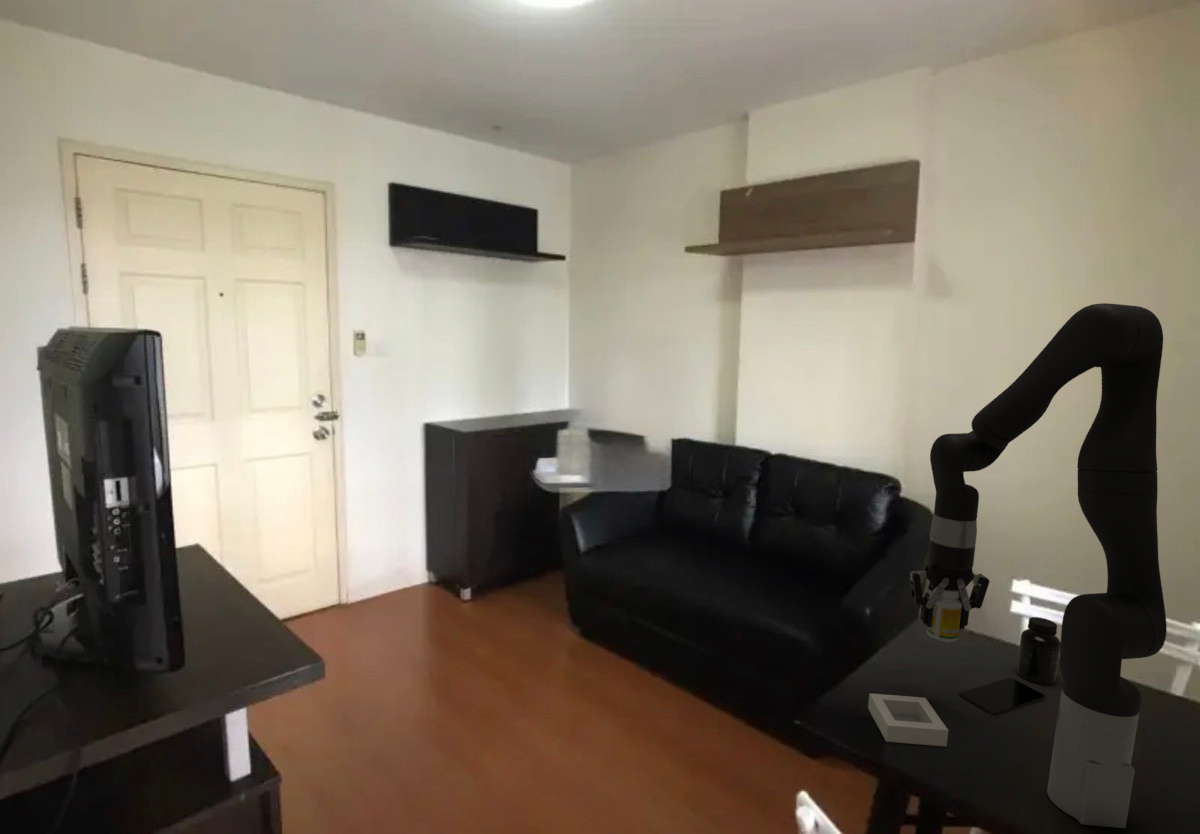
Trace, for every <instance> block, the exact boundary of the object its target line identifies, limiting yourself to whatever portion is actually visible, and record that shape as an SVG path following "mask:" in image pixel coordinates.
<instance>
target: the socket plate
mask: <svg viewBox="0 0 1200 834" xmlns="http://www.w3.org/2000/svg"><path fill="white" fill-rule="evenodd" d="M868 695H869V696H868V703H867V704H868V705H867V709H868V711H869V713H870V714H871V715H870V716H871V717H872V718H873V721H874V722H875V724H876V726H877V727H878V729H879V731H880V733H881V735H882V737H883V738H884V740H885V742H886V743H897V744H900V743H901V744H912V745H923V746H924V745H925V746H934V747H935V746H936V747H946V748H947V747H948V746H947V744H948V738H949V729H948V728H947V726H946V725H945V723H944V722H943V721H942V719H941V718H940V716H939V715H938V714H937V712H936V711H935V709H934V708H933V707H932V705H931V704H930V702H929V701H928V699H927V698H926V697H924V696H923V697H921V696H920V697H919V696H910V695H909V696H907V695H895V694H892V695H891V694H882V693H869V694H868Z"/></svg>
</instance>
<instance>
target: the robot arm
mask: <svg viewBox="0 0 1200 834" xmlns="http://www.w3.org/2000/svg"><path fill="white" fill-rule="evenodd" d="M1163 348H1164V332H1163V326H1162V324H1161V322H1160V319H1159V318H1158V317H1157V315H1156V314H1155V313H1154V312H1152V310H1150V309H1148V308H1145V307H1142V306H1138V305H1132V304H1131V305H1130V304H1129V305H1128V304H1119V303H1107V302H1106V303H1105V302H1102V303H1094V304H1091V305H1087V306H1084V307H1082V308H1081V309H1079V310H1077V311H1076V312H1075V314H1073V315H1071V317H1070V318H1069V319H1067V321H1066V322H1065V323H1064V324H1063V325H1062V326H1061V328H1060V329H1058V331H1057V332H1056V333H1055V334H1054V336H1053V337H1052V339H1050V341H1049V342H1048V343H1047V344H1046V345H1045V347H1044V348H1043V349H1042V350H1041V351H1040V352H1039V353H1038V355H1037V356H1036V357H1035V358H1034V359H1033V360H1032V361H1031V363H1030V364H1029V365H1028V366H1027V367H1026V369H1025V370H1024V371H1023V372H1022V373H1021V374H1020V375H1019V376H1018V377H1017V378H1016V379H1015V380H1013V382H1012V383H1011V384H1010V385H1009V386H1008V387H1007V388H1005V389H1004V390H1003V391H1002V392H1001V393H999V394H998V395H997V396H996V397H995V398H994V399H992V400H991V401H990V402H988V404H986V405H985V406H984V407H982V408H981V410H979V411H978V412H977V413H976V414H975V416H973V418H972V420H971V431H969V432H966V433H965V432H961V433H945V434H942V435H940V436H938V437H937V438H935V440H934V441H933V443H932V445H931V449H930V454H929V461H930V462H929V463H930V467H931V472H932V477H933V478H932V479H933V483H934V484H933V485H934V487H935V488H934V489H935V498H934V499H935V500H934V510H933V517H932V521H931V525H930V531H929V543H928V551H927V553H928V554H927V565H926V567H925V568H924V570H917V571H915V570H914V569H910V570H908V580H909V588H910V597H911V599H912V600H913V601H914V603H916V604H917V605H919V606H921V607H920V614H919V615H920V616H919V619H920V621H921V622H922V623H923V625H924V626H925V627H926V628H927V627H931V622H932V613H933V609H932V606H933V604H934V603H935V601H936V599H939V597H940V595H941V594H942V592H943V590H957V591H959V597H958V598H957V599H959V600H960V601H961V603H962V610H961V618H960V627H959V630H965V627H967V626H968V625H969V616H970V611H971V610H972V609H975V608H976V609H981V608H982V606H983V603H984V601H985V597H986V594H987V591H988V588H989V584H990V581H991V580H989V578H988V577H987V576H985V575H983V574H982V573H978V574H977V573H976V574H975V573H974V571H973V568H974V563H975V554H976V552H975V551H976V543H977V537H978V536H977V534H978V524H977V523H978V522H977V521H978V512H979V503H980V502H979V501H980V494H979V491H978V489H977V488H975V487H974V486H973V485H970V484H966V481H965V476H964V473H966V472H968V473H969V472H970V473H971V472H977V471H979V472H980V471H981V470H984V469H987V468H988V467H990V466H991V465H992V464H993V463H995V462H996V460H998V458H999V457H1000V456H1001V454H1002V453H1003V452H1004V451H1005V450H1006V448H1007V446H1008V445H1009V443H1011V442H1013V441H1014V440H1015V439H1017V438H1018V437H1019V436H1021V434H1023V433H1024V432H1025V431H1027V430H1029V429H1030V428H1031V427H1032V426H1034V425H1035V424H1036V423H1037V422H1038V421H1039V420H1040V419H1041V418H1042V417H1043V415H1044V414H1045V413H1046V412H1047V410H1048V408H1049V406H1050V404H1051V402H1052V400H1053V399H1054V397H1055V396H1056V395H1057V393H1058V392H1059V391H1060V390H1061V389H1062V388H1063V387H1064V386H1065V385H1066V384H1068V383H1069V382H1071V381H1072V380H1074V379H1076V378H1077V377H1079V376H1080V375H1083V374H1084V373H1086V372H1087V371H1090V370H1092V369H1094V368H1100V373H1101V396H1100V404H1099V408H1098V411H1097V412H1096V413H1097V414H1096V416H1095V418H1094V420H1093V422H1092V424H1091V426H1090V428H1089V430H1088V431H1087V434H1086V435H1085V437H1084V440H1083V442H1082V445H1081V447H1080V449H1079V453H1078V457H1077V467H1076V468H1077V499H1078V503H1079V506H1080V508H1081V509H1080V510H1081V512H1082V514H1083V515H1084V517H1085V519H1086V521H1087V523H1088V524H1089V526H1090V527H1091V530H1092V532H1093V533H1094V534H1095V536H1096V538H1097V539H1098V541H1099V543H1100V545H1101V546H1102V550H1103V552H1104V557H1105V560H1106V568H1107V570H1106V571H1107V586H1106V592H1100V593H1098V592H1097V593H1084V594H1079V595H1076V596H1074V597H1073V598H1071V599H1070V601H1068V603H1067V604H1066V606H1065V609H1064V613H1063V616H1062V621H1061V631H1060V633H1061V634H1060V643H1061V644H1060V654H1059V661H1058V666H1059V670H1060V674H1061V678H1062V685H1061V686H1062V687H1061V691H1060V692H1061V693H1060V699H1059V706H1058V712H1057V713H1058V714H1057V719H1056V724H1055V725H1056V727H1055V731H1054V732H1055V733H1054V740H1053V741H1054V742H1053V746H1052V752H1051V753H1052V754H1051V755H1052V756H1051V759H1050V768H1049V769H1050V770H1049V776H1048V783H1047V788H1046V789H1047V790H1046V792H1047V796H1048V798H1049V799H1050V800H1051V802H1052V803H1053V804H1054V805H1055V806H1056V807H1057V808H1058V809H1060V811H1063V812H1064V813H1065V814H1067V815H1069V816H1071V817H1073V818H1074V819H1075V820H1077V822H1078V823H1079V824H1080V825H1084V826H1093V827H1094V826H1096V827H1106V828H1107V827H1108V828H1114V829H1115V828H1116V829H1119V828H1120V829H1126V827H1127V826H1126V825H1127V821H1128V815H1129V809H1130V803H1131V802H1130V801H1131V796H1132V791H1133V786H1134V785H1133V784H1134V777H1135V772H1136V771H1135V768H1134V766H1132V758H1133V752H1134V748H1135V747H1134V746H1135V740H1136V735H1137V729H1138V724H1139V716H1140V710H1141V704H1142V694H1141V691H1140V690H1139V689H1138V687H1137V686H1136V685H1135V684H1134V683H1132V682H1131V681H1130V680H1128V679H1126V678H1124V677H1122V676H1121V675H1122V674H1121V672H1122V662H1123V661H1122V660H1129V659H1130V660H1133V659H1142V658H1143V659H1144V658H1148V657H1152V656H1155V655H1156V654H1158V652H1160V651H1161V650H1162V648H1163V646H1164V645H1165V642H1166V639H1167V629H1168V626H1167V616H1166V615H1167V614H1166V609H1165V601H1164V593H1163V587H1162V579H1161V578H1162V577H1161V572H1160V571H1161V570H1160V563H1159V561H1160V560H1159V539H1158V538H1159V536H1158V534H1159V533H1158V491H1159V490H1158V489H1159V488H1158V487H1159V486H1158V484H1159V483H1158V460H1157V458H1158V457H1157V432H1158V431H1157V425H1158V423H1157V421H1158V419H1157V400H1158V389H1159V381H1160V374H1161V367H1162V359H1163V358H1162V357H1163ZM924 579H927V580H928V584H927V585H926V586H925V589H924V590H925V591H924V593H923V591H922V584H923V583H924ZM971 582H972V584H973V586H972V589H971V592H970V595H969V593H968V591H967V587H968V586H969V584H970V583H971Z"/></svg>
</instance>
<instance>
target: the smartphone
mask: <svg viewBox="0 0 1200 834" xmlns="http://www.w3.org/2000/svg"><path fill="white" fill-rule="evenodd" d="M958 697H960V698H961V699H962V700H965V701H966V702H968V703H969V704H971V705H974V706H976V708H979V710H982V711H983V712H985V713H986V714H989V715H992V716H999V715H1003V714H1006V713H1009V712H1013V711H1016V710H1019V709H1022V708H1025V707H1027V706H1031V705H1034V704H1038V703H1040V702H1043V701H1046V700H1047V696H1046V694H1044V693H1042V692H1040V691H1039V690H1036V689H1034V688H1032V687H1030V686H1028V685H1026V684H1025V683H1023V682H1020V681H1019V680H1017V679H1015V678H1014V677H1013V678H1012V677H1006V678H1002V679H1000V680H996V681H992V682H989V683H986V684H982V685H979V686H976V687H972V688H969V689H966V690H962V691H960V692H958Z"/></svg>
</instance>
